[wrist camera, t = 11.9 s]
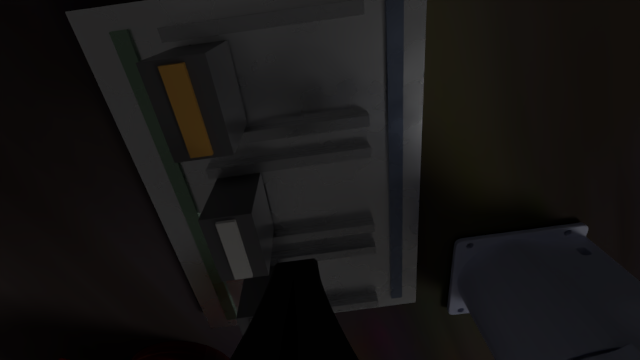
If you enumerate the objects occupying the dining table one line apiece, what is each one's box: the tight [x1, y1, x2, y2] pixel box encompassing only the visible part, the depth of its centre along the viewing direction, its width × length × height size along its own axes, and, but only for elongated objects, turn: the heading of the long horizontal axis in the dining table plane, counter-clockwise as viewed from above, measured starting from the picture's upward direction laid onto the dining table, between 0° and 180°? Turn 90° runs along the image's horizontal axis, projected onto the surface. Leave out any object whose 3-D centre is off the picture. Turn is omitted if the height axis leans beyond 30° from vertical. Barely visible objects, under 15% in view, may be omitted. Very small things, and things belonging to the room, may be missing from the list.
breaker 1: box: [198, 173, 274, 281], centre depth 17 cm, size 2×4×4 cm, turn 7°
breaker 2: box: [236, 267, 274, 335], centre depth 21 cm, size 2×4×4 cm, turn 7°
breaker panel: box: [65, 0, 427, 329], centre depth 20 cm, size 16×22×2 cm
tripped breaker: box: [136, 40, 248, 163], centre depth 14 cm, size 2×4×4 cm, turn 7°
